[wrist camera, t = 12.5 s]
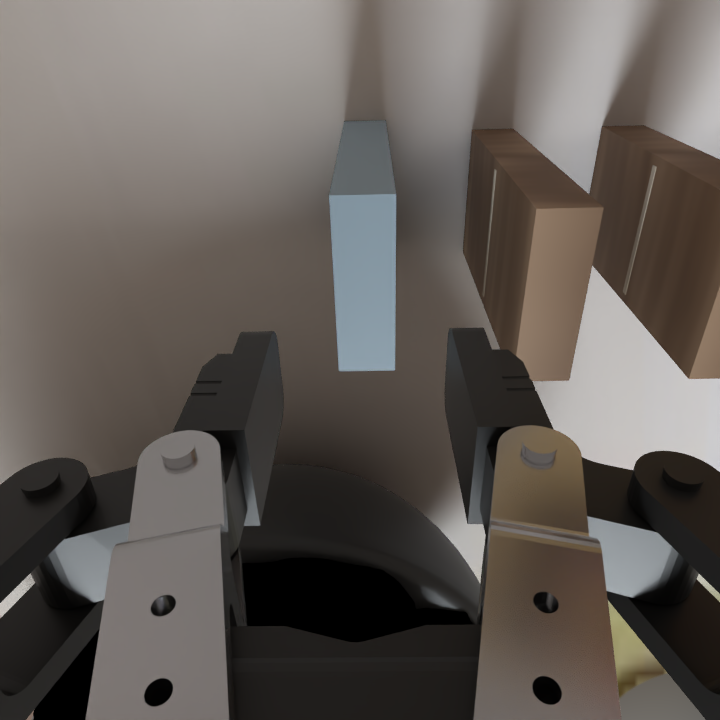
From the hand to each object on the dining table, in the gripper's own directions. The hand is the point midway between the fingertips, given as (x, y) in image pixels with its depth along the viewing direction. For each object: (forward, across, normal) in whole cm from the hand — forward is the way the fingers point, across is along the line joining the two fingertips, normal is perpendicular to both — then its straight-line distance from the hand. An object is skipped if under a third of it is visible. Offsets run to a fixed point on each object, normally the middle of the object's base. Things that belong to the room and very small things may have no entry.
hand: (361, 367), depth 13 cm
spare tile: (+13, 0, -1) cm, 13 cm away
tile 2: (+13, -5, 0) cm, 14 cm away
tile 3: (+13, -10, 0) cm, 16 cm away
